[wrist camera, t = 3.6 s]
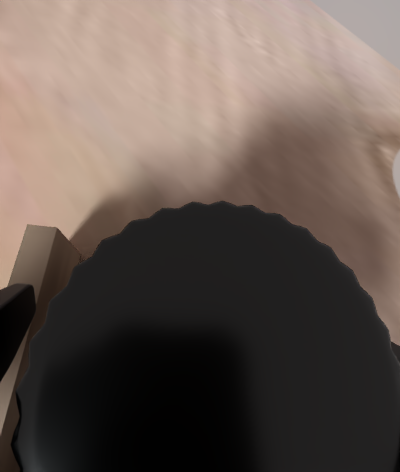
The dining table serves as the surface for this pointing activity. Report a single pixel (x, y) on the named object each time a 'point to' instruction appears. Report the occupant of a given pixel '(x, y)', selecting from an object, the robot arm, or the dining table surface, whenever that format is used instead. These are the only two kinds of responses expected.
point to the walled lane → (45, 287)
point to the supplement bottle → (210, 355)
